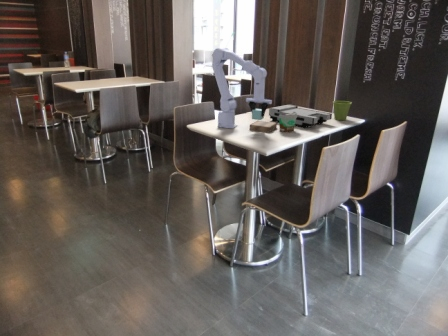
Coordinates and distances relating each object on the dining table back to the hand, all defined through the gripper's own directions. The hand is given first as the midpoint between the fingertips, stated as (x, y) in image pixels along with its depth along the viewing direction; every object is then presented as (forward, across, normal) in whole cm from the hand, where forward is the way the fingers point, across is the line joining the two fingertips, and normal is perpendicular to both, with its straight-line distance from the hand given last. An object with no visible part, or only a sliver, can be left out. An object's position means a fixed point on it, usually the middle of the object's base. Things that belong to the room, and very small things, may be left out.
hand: (258, 115), depth 191 cm
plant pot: (+9, +36, +54) cm, 65 cm away
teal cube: (+2, 0, 0) cm, 2 cm away
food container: (+9, +16, +8) cm, 20 cm away
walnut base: (+8, +1, +5) cm, 10 cm away
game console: (+9, +15, +32) cm, 36 cm away
